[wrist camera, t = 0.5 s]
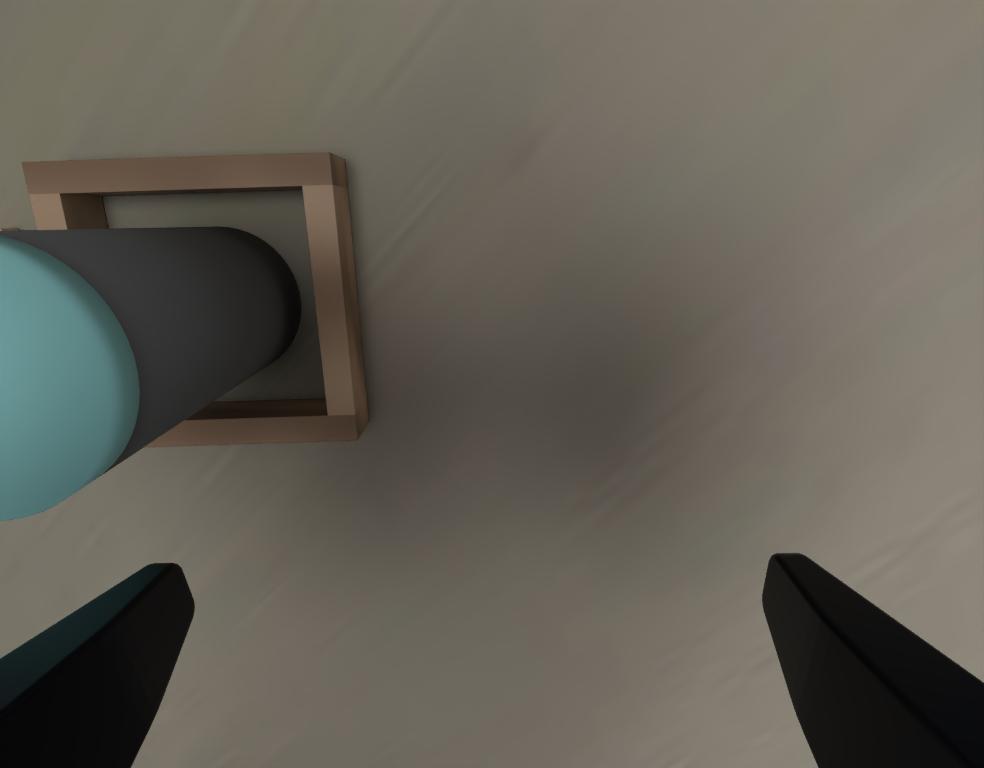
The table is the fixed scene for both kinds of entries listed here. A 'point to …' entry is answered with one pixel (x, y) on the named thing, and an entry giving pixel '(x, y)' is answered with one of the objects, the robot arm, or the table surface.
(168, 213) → the table surface
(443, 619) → the table surface
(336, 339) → the open square brown frame
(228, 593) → the table surface
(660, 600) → the table surface
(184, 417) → the teal-capped grey cylinder
